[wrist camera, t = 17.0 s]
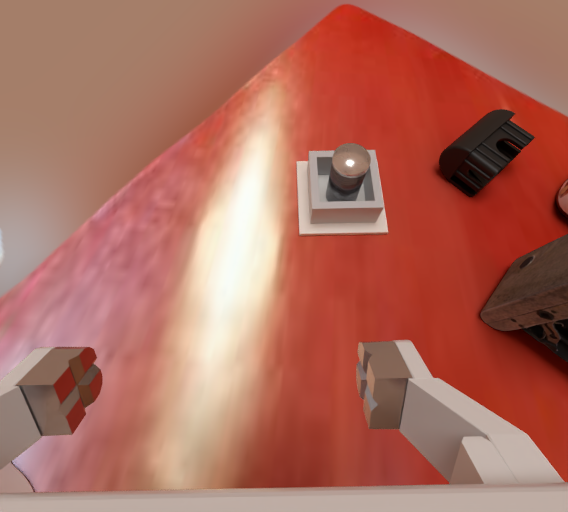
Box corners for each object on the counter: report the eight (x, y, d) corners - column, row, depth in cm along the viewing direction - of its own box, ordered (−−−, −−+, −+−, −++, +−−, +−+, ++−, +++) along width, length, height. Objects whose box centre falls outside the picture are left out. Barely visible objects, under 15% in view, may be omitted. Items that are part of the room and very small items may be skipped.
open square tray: (299, 235, 44) (300, 219, 40) (296, 164, 49) (297, 142, 44) (386, 234, 44) (397, 217, 40) (375, 162, 49) (384, 140, 44)
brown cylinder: (326, 209, 45) (334, 174, 38) (324, 182, 47) (331, 143, 39) (358, 208, 45) (372, 173, 38) (355, 181, 47) (368, 142, 39)
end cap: (470, 135, 51) (496, 99, 44) (509, 163, 49) (542, 130, 42) (429, 170, 48) (451, 137, 42) (468, 200, 46) (497, 171, 40)
